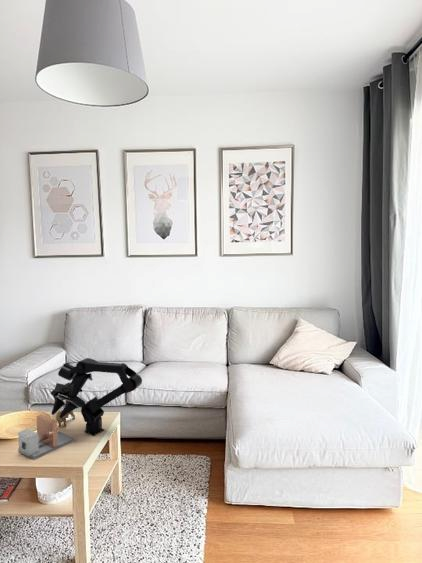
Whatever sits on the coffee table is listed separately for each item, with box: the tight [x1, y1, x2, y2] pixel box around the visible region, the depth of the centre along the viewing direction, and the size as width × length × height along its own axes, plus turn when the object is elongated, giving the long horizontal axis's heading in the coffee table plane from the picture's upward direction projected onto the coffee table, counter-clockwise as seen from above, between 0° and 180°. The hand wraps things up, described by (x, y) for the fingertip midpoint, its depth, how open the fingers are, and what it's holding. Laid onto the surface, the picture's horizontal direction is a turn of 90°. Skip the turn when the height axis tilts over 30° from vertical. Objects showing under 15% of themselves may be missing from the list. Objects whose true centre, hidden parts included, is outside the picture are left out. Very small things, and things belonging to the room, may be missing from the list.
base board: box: [17, 430, 76, 461], centre depth 161 cm, size 19×12×1 cm, turn 146°
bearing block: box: [17, 428, 39, 457], centre depth 154 cm, size 4×8×8 cm, turn 56°
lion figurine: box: [55, 409, 76, 428], centre depth 183 cm, size 15×5×9 cm, turn 178°
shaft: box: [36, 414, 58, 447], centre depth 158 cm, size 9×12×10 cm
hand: (56, 415), depth 164 cm, fingers open, 6 cm apart
